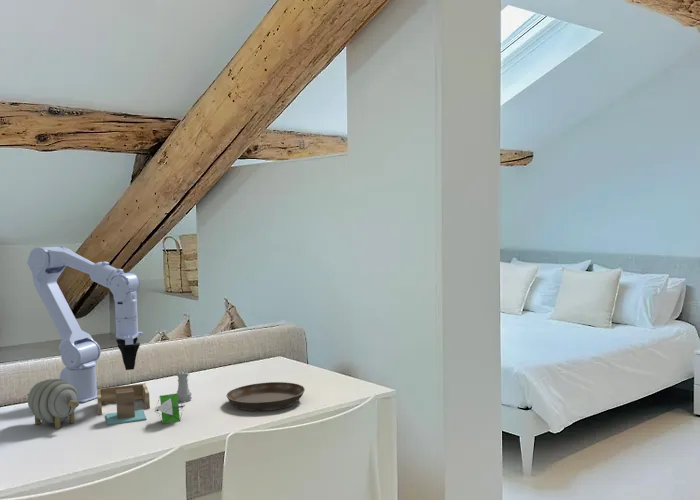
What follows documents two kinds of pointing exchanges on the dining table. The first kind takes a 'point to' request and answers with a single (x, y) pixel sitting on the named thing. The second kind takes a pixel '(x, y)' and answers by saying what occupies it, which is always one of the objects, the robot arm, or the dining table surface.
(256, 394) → the plant saucer
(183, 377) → the rook chess piece
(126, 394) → the walnut block
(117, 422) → the teal mat
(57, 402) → the toy sheep
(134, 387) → the oak open-side box
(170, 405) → the geometric puzzle
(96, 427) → the dining table surface
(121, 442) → the dining table surface
